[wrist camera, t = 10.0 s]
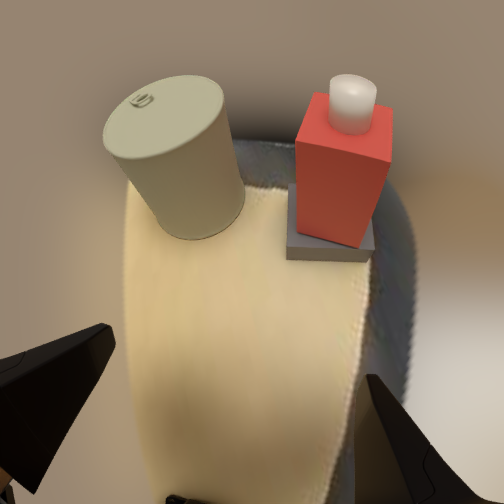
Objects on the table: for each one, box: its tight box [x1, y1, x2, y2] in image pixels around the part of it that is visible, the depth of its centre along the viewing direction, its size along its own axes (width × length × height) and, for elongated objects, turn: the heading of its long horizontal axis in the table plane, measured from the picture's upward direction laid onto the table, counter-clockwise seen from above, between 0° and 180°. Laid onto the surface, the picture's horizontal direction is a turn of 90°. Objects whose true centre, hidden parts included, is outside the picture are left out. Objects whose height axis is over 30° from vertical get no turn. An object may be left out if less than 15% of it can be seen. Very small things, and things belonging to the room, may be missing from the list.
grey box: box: [287, 183, 375, 262], centre depth 24 cm, size 6×7×3 cm
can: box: [103, 75, 245, 240], centre depth 23 cm, size 9×9×12 cm
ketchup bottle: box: [295, 74, 393, 248], centre depth 17 cm, size 5×5×12 cm
